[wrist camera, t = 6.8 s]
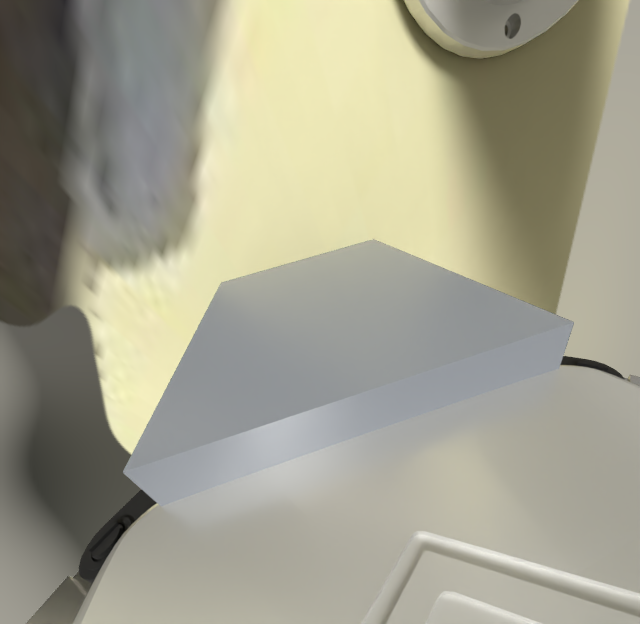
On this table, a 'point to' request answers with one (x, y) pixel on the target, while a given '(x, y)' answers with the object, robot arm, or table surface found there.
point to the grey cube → (332, 362)
